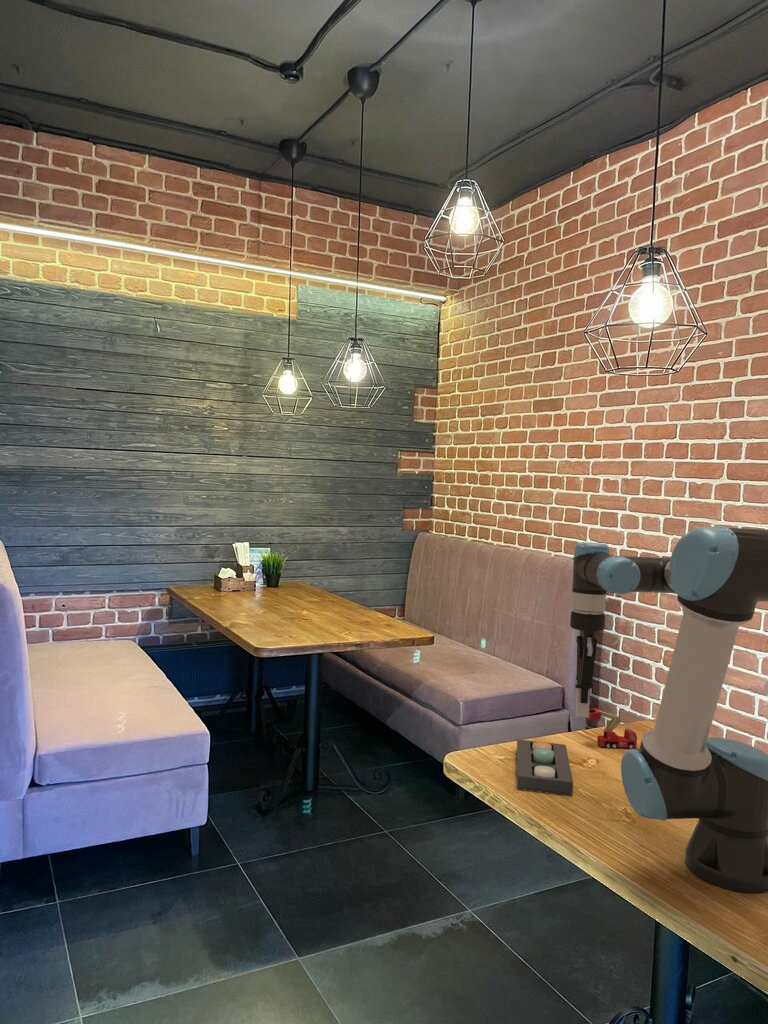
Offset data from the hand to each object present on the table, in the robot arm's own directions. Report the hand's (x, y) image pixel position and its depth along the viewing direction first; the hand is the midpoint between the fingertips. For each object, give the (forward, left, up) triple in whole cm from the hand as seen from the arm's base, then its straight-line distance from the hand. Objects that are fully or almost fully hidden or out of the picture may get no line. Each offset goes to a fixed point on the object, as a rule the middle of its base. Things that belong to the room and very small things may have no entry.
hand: (582, 716), depth 170 cm
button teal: (+8, +7, -15) cm, 18 cm away
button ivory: (0, +7, -16) cm, 18 cm away
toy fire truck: (+31, -11, -17) cm, 37 cm away
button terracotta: (+16, +7, -16) cm, 24 cm away
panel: (+8, +7, -17) cm, 20 cm away
